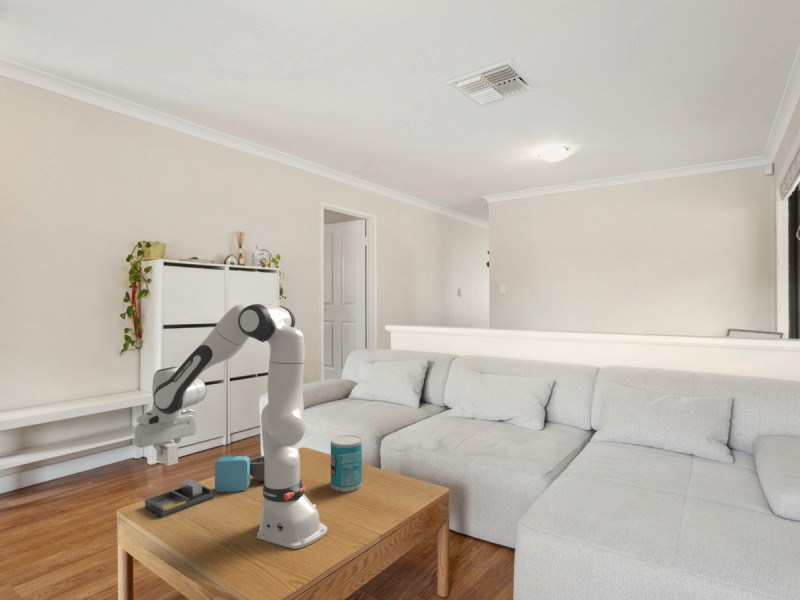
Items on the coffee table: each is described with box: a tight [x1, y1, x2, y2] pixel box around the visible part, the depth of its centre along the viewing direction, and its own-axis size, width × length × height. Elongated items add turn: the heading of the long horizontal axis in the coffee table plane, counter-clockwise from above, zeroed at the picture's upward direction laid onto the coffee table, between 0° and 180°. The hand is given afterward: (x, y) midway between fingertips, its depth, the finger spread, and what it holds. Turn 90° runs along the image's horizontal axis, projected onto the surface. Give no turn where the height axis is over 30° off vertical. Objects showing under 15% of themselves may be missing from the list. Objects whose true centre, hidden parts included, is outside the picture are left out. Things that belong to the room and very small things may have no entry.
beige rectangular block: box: [156, 440, 179, 466], centre depth 159 cm, size 8×4×6 cm, turn 53°
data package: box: [214, 455, 251, 493], centre depth 174 cm, size 12×4×12 cm, turn 96°
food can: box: [330, 434, 363, 493], centre depth 177 cm, size 12×12×18 cm
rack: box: [144, 478, 214, 519], centre depth 163 cm, size 12×18×6 cm, turn 143°
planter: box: [250, 455, 265, 483], centre depth 184 cm, size 15×17×20 cm
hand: (167, 453), depth 159 cm, fingers closed on beige rectangular block, 3 cm apart
